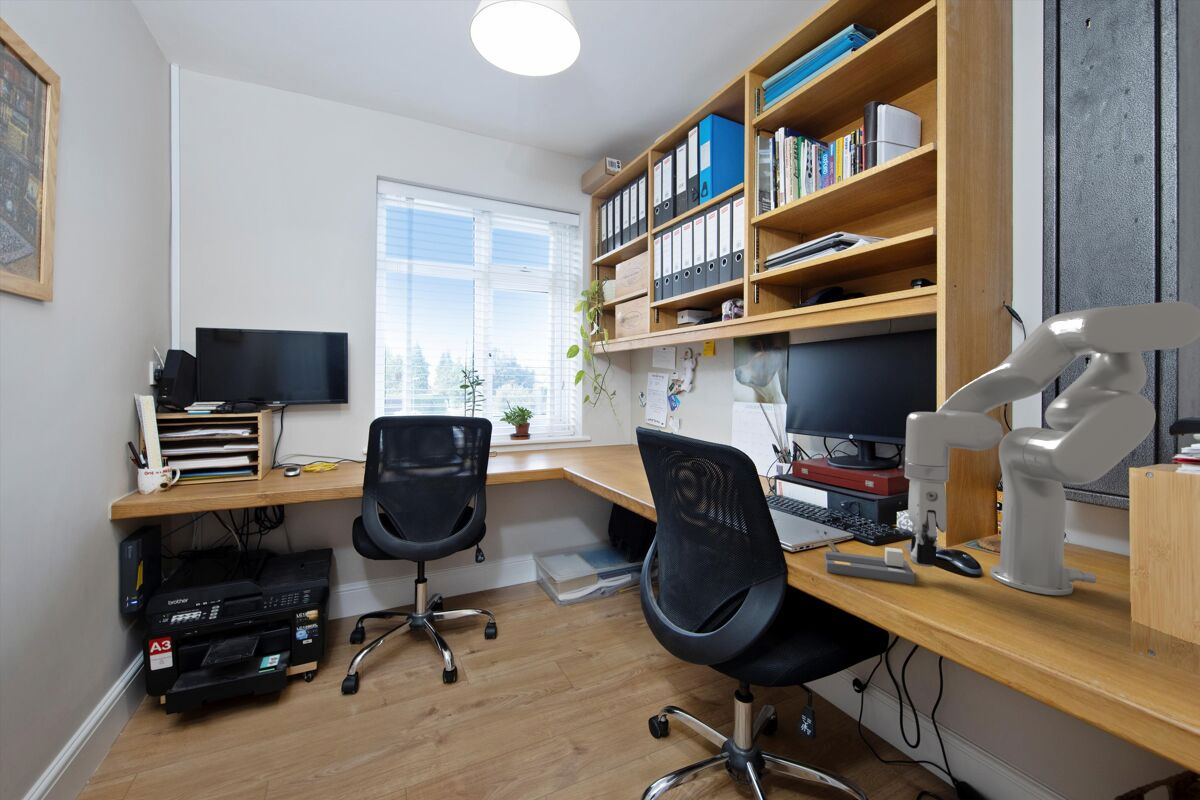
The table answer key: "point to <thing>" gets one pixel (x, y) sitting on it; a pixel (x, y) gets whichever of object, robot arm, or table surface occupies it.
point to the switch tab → (894, 557)
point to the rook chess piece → (914, 552)
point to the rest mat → (910, 547)
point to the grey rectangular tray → (867, 567)
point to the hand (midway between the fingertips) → (923, 558)
